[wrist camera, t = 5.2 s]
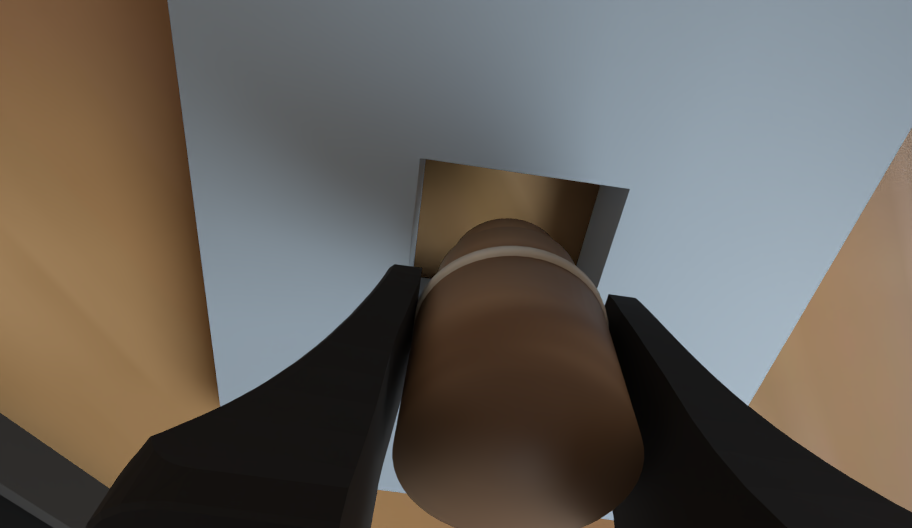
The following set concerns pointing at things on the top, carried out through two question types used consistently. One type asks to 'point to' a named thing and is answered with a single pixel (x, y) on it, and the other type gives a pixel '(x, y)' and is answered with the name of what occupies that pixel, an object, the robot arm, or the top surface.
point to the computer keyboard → (42, 484)
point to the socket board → (536, 152)
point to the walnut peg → (514, 390)
